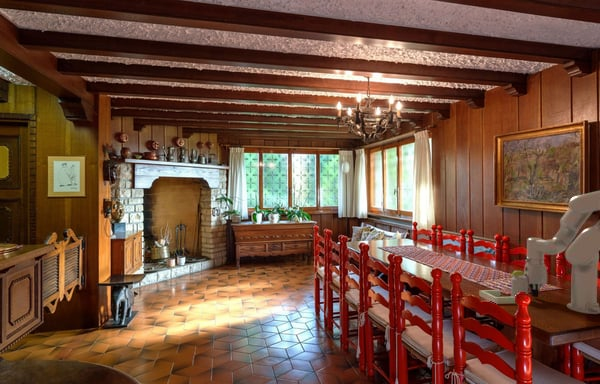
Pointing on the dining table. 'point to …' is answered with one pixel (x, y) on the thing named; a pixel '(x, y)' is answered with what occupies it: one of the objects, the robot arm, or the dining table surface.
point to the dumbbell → (517, 273)
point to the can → (519, 284)
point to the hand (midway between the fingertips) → (534, 296)
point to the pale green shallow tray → (491, 295)
